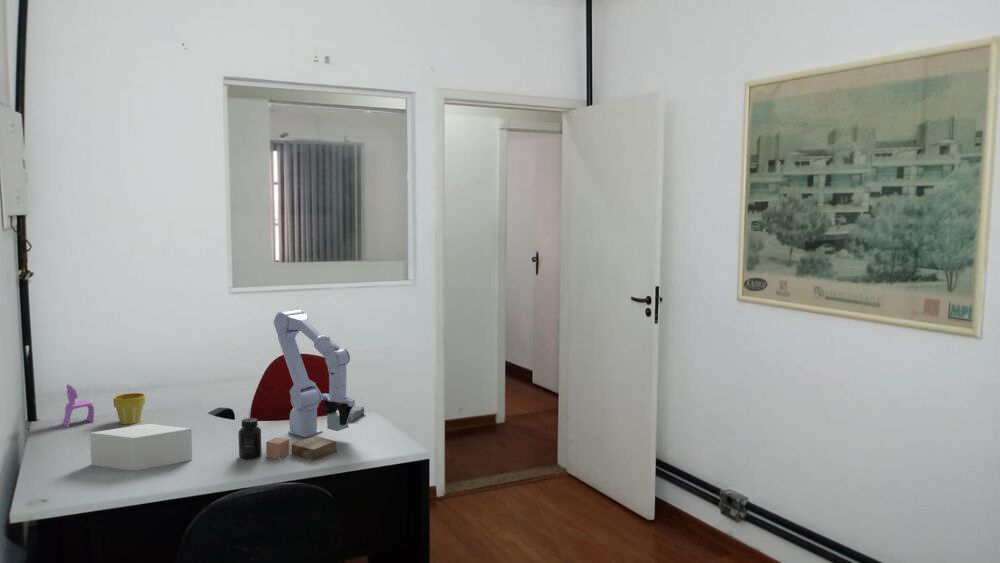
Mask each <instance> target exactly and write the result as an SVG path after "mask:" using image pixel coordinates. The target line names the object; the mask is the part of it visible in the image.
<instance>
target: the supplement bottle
mask: <svg viewBox="0 0 1000 563" xmlns="http://www.w3.org/2000/svg"><path fill="white" fill-rule="evenodd" d="M238 430H239V431H238V456H239V459H241V460H245V459H246V460H248V459H249V460H255V459H258V458H260V457H261V456H262V451H263V450H262V429H261V428H260V427H259V426H258V418H257V417H256V418H255V417H249V418H247V417H246V418H244V419H243V418H242V420H241V428H240V429H238ZM249 460H248V461H249Z"/></svg>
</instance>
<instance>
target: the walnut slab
mask: <svg viewBox="0 0 1000 563" xmlns="http://www.w3.org/2000/svg"><path fill="white" fill-rule="evenodd" d="M335 453H337V441H336V440H332V439H328V438H324V437H319V436H316V435H312V436H311V437H310V436H309V437H306V438H304V439H302V440H299V441H295V442H294V443H291V452H290V454H291V456H293V457H297V458H301V459H305V460H308V461H311V462H315V461H318V460H319V459H322V458H325V457H328V456H330V455H333V454H335Z"/></svg>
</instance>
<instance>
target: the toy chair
mask: <svg viewBox="0 0 1000 563" xmlns="http://www.w3.org/2000/svg"><path fill="white" fill-rule="evenodd" d="M66 394H67V398H68V399H67V400H68V402H67V403H66V406H65V408H64V418H63V420H62V421H63V422H62V424H61V425H63V426H65V427H67V428H70V425H71V424H70V423H71V422H70V421H71V416H72V413H73V411H74V410H77V409H79V408H84V407H85V408H86V407H87V411H88V413H87V417H86V419H85V420H86V421H88V422H90V423H93V424H94V421H95V420H94V419H95V415H94V414H95V407H94V405H93V402H90V401H88V400H87V399H84V400H79V401H75V400H77V398H78V394H77V390H76V388H75V387H74V386H73V385H72V384H69V383H67V384H66ZM78 399H79V398H78Z"/></svg>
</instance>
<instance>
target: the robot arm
mask: <svg viewBox="0 0 1000 563" xmlns="http://www.w3.org/2000/svg"><path fill="white" fill-rule="evenodd" d="M273 319H274V320H273V325H274V328H275V331H276V334H277V339H278V342H279V345H280V349H281V350H282V351H281V352H282V354H283V357H284V359H285V363H286V366H287V368H288V371H289V375H290V377H291V380H292V384H293V385H292V387H291V388H290V390H289V394H290V396H289V397H290V403H291V406H292V407H293V408H292V409H291V410H290V413H289V430H288V431H287V433H288V434H292V435H297V436H300V437H304V438H308V437H310V436H311V437H312V436H315V435H316V434H320V433H323V430H322V429H319V428H318V408H319V405H320V403H321V402H322V401H323V402H322V406H323V408H324V410H325V411H326V415H327V414H330V413H334V412H336V411H337V410H338V411H339V415H340V424H341V425H346V423H347V419H348V416H349V413H350V411H351V409H352V407H353V406H356V405H355V403H356V402H355V401H356V400H355V399H353V398H351V397H349V396H347V365H348V364H350V360H351V356H350V352H349V351H348V349H347V348H345V347H340V346H339V345H338V344H336V343H335V342H334V341H333V340H332V339H331V337H330V336H329V335H326V334H321V333H320V332H319V331H318V330H317V328H316V327H315V326H314V325H313V324H312V323H311V321H309V316H308V315H307V313H305V312H304V311H303V310H302V309H296V310H289V311H280V312H279V311H278V312H277V313H276V314H275V317H274V318H273ZM300 332H301V333H302V334H303V335H304V336H306V338H308V339H309V340H311V341H312V342H313V347H314V349H315V350H316V351H317V352H319V354H321V356H323V357H324V360H325V361H324V362H325V364H326V366H327V371H328V375H329V376H328V378H329V379H328V381H329V382H328V384H329V385H328V388H329V389H328V391H329V393H322V392H321V390H320V389H319V387H318V386H317V385H316V382H314V381H313V380H311V379H309V375H308V373H307V370H306V367H305V364H304V362H303V359H302V355H301V352H300V350H299V347H298V344H297V343H298V342H297V340H296V337H297V335H298V334H299V333H300ZM338 404H340V405H338Z"/></svg>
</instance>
